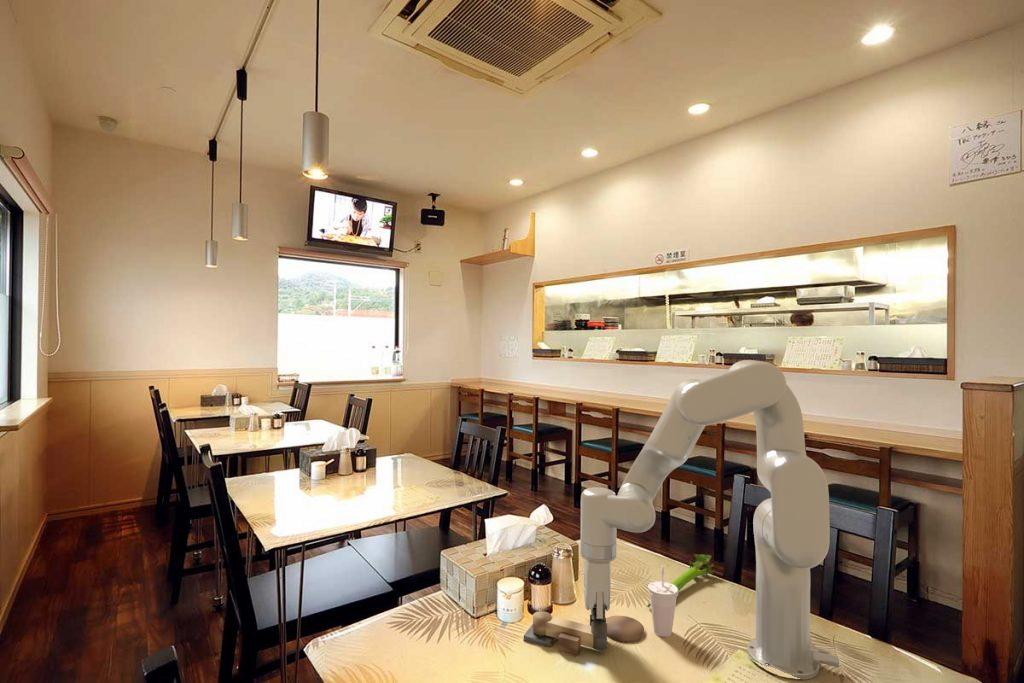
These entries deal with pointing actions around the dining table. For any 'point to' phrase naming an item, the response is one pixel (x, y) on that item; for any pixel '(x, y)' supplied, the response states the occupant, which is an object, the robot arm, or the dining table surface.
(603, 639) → the leg
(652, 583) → the smoothie
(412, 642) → the dining table surface
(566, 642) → the block
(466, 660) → the dining table surface
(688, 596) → the dining table surface
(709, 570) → the leek
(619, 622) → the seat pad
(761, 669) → the dining table surface
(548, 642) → the pivot plate
